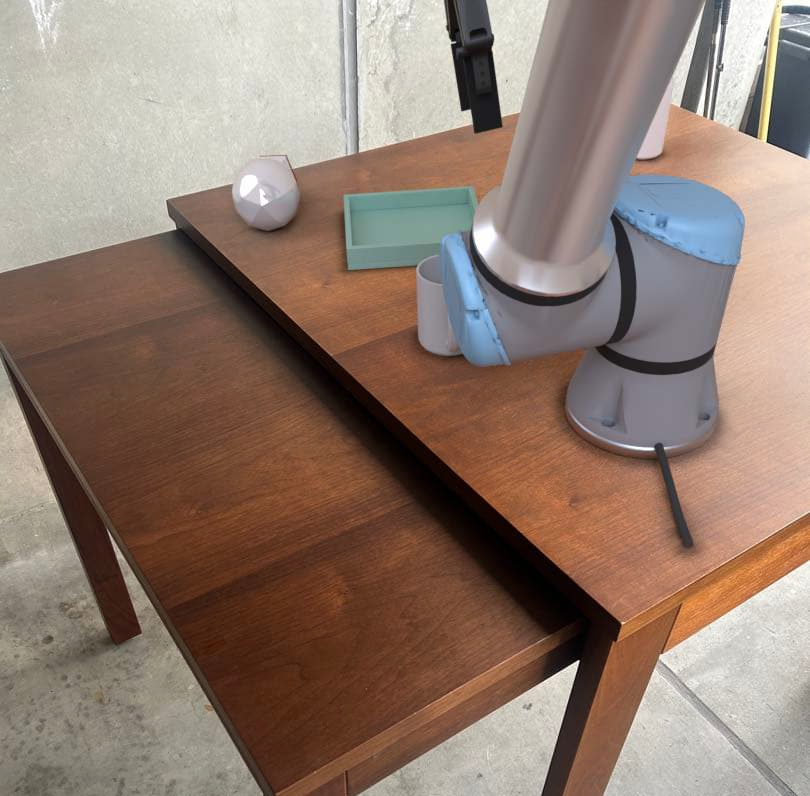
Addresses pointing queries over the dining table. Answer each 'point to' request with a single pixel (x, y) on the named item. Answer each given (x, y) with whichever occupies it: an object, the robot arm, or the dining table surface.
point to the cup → (433, 311)
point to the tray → (403, 224)
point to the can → (657, 128)
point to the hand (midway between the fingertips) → (480, 118)
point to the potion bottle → (266, 192)
